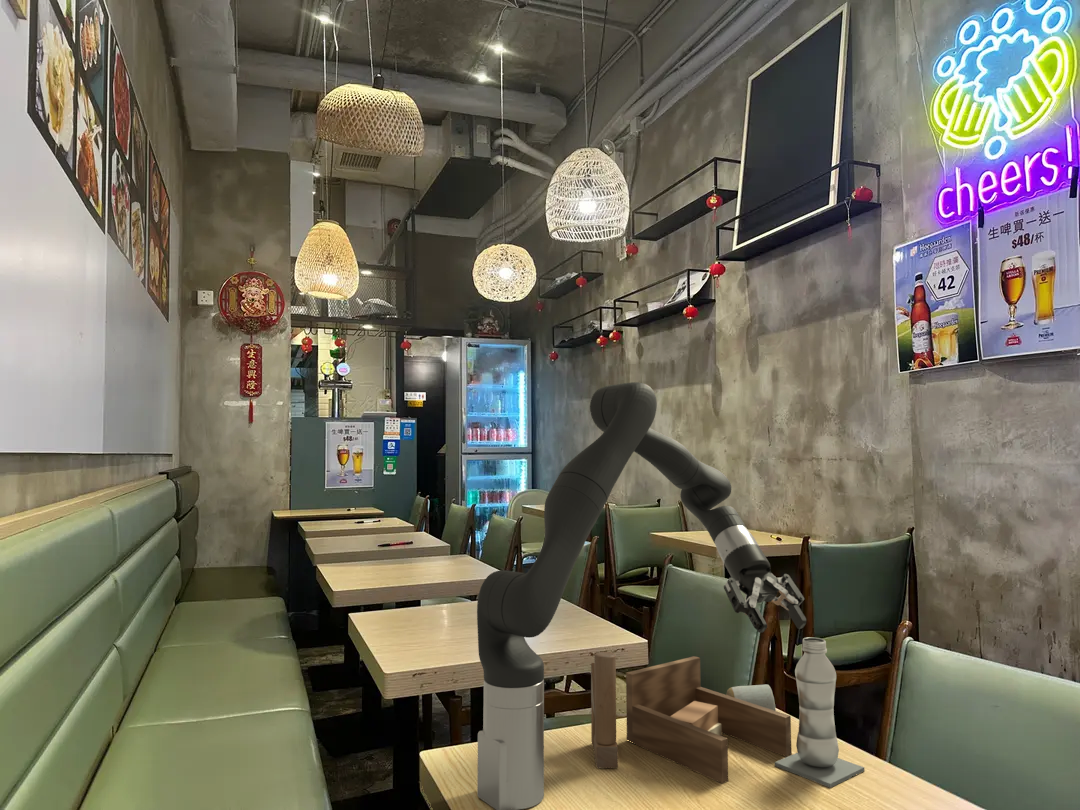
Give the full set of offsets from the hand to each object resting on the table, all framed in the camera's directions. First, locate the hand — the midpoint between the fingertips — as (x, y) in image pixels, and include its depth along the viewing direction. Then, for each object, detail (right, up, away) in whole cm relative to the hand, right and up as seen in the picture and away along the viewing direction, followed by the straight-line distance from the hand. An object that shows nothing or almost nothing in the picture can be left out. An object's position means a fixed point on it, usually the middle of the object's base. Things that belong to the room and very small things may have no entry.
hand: (783, 628), depth 126 cm
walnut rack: (-13, -21, -1) cm, 25 cm away
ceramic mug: (-3, -22, +8) cm, 24 cm away
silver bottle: (+3, -20, -9) cm, 22 cm away
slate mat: (+3, -20, -9) cm, 22 cm away
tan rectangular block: (-16, -21, 0) cm, 27 cm away
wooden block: (-32, -21, -4) cm, 39 cm away
